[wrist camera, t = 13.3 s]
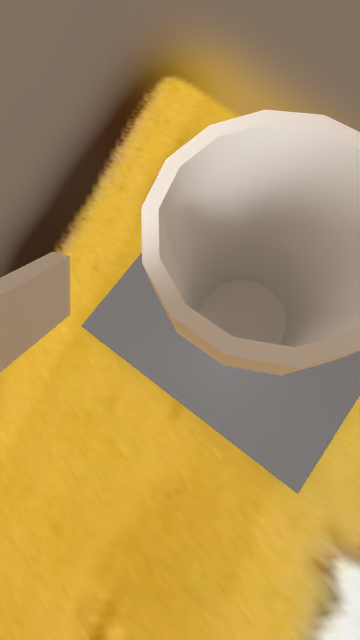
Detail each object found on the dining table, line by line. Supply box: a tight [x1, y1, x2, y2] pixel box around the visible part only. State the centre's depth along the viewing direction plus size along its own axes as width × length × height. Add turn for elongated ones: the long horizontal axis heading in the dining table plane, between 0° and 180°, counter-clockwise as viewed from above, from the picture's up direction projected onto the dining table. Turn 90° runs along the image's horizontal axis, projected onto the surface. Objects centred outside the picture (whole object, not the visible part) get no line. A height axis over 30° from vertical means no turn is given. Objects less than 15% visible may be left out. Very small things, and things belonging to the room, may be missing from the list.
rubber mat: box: [82, 253, 360, 494], centre depth 24 cm, size 18×14×1 cm
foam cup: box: [142, 110, 360, 375], centre depth 18 cm, size 10×9×13 cm
